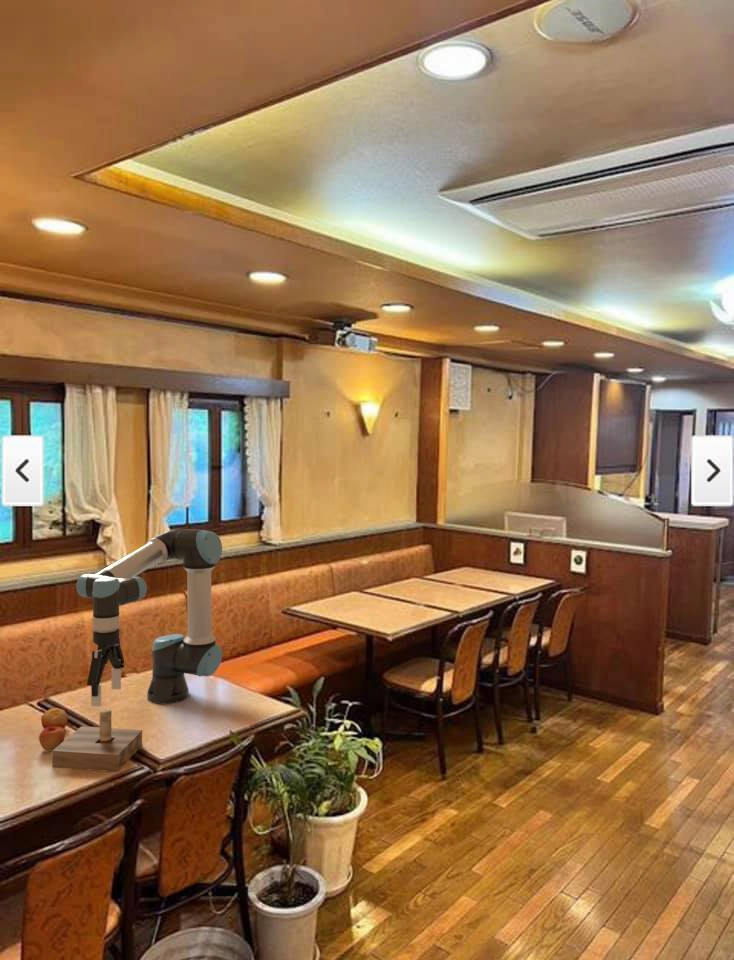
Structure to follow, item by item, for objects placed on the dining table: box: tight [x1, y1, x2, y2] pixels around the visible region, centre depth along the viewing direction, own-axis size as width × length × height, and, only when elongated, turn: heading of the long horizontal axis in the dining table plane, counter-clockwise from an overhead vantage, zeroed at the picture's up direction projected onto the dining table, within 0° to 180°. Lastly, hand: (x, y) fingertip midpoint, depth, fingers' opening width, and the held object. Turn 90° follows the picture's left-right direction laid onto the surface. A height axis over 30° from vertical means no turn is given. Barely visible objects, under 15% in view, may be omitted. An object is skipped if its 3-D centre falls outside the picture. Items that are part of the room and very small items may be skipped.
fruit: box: [40, 707, 69, 730], centre depth 233 cm, size 8×8×8 cm
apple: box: [38, 725, 66, 752], centre depth 219 cm, size 7×7×8 cm
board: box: [51, 725, 143, 773], centre depth 215 cm, size 18×20×5 cm
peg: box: [99, 709, 113, 744], centre depth 215 cm, size 4×4×14 cm
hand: (106, 697), depth 215 cm, fingers open, 13 cm apart
